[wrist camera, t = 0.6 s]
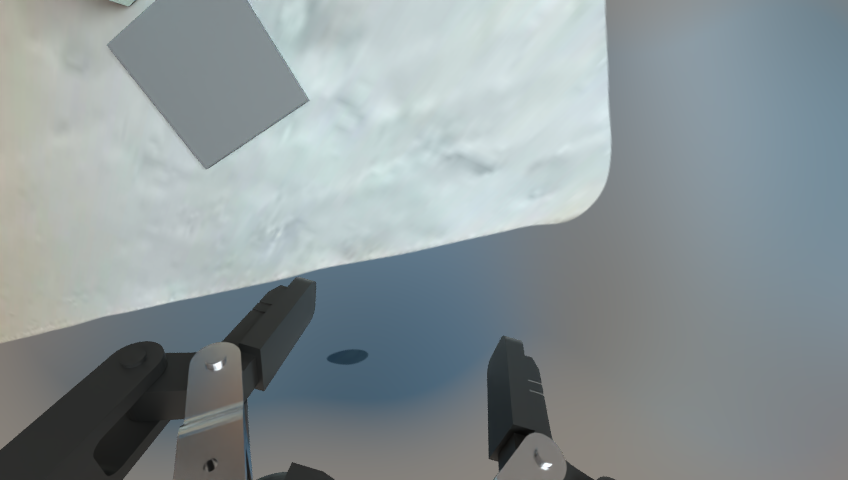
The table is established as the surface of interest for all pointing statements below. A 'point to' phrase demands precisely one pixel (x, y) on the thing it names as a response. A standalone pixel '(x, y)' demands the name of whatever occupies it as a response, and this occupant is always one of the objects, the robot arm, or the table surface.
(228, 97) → the mat
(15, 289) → the table surface
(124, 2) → the tile
